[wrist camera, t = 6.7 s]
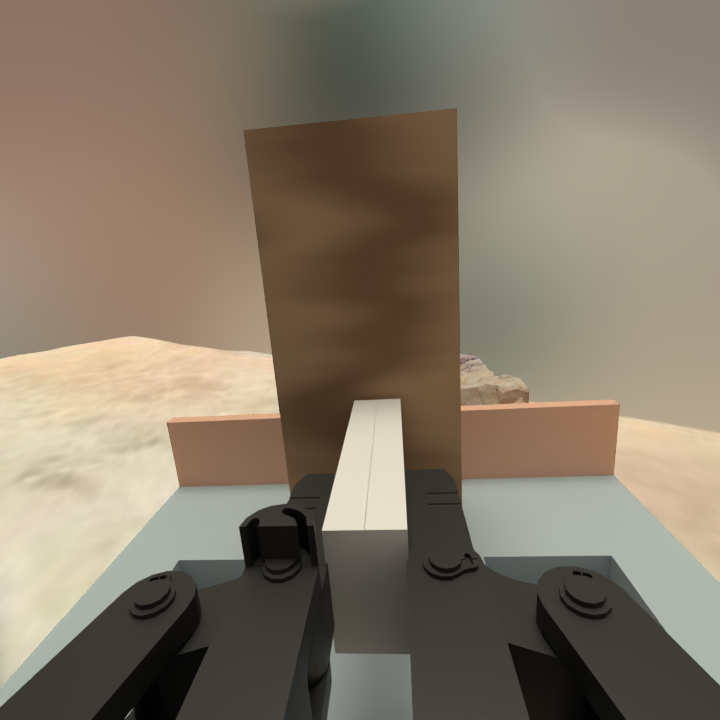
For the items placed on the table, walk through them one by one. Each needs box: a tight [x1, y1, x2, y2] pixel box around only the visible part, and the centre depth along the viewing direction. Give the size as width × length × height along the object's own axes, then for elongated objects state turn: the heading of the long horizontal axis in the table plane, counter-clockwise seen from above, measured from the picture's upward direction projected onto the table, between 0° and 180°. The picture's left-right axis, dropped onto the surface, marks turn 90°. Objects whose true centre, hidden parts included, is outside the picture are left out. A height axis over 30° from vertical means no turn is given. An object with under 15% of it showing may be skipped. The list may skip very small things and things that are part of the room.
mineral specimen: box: [460, 354, 529, 406], centre depth 32 cm, size 13×7×6 cm, turn 29°
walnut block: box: [244, 108, 462, 506], centre depth 17 cm, size 6×6×16 cm
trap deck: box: [0, 399, 720, 720], centre depth 15 cm, size 24×18×6 cm
